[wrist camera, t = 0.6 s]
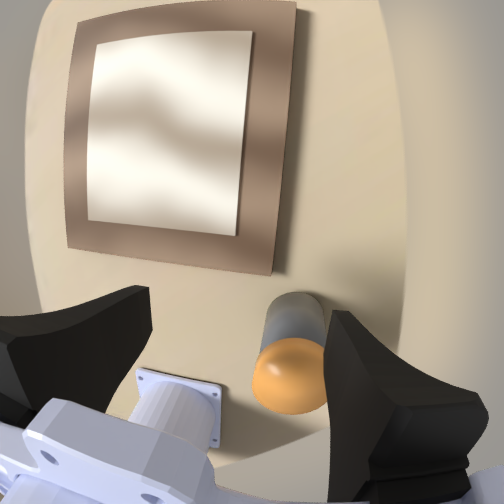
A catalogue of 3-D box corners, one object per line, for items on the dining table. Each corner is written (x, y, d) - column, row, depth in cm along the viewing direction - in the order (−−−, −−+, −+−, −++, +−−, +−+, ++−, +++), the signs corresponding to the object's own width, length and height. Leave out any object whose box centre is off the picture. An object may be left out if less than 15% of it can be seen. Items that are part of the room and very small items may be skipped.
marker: (318, 339, 23) (324, 417, 16) (263, 332, 24) (248, 409, 16) (329, 289, 22) (342, 360, 14) (269, 282, 22) (255, 351, 15)
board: (272, 270, 22) (270, 277, 21) (74, 243, 23) (66, 248, 22) (296, 7, 16) (296, 0, 15) (84, 25, 17) (76, 22, 16)
